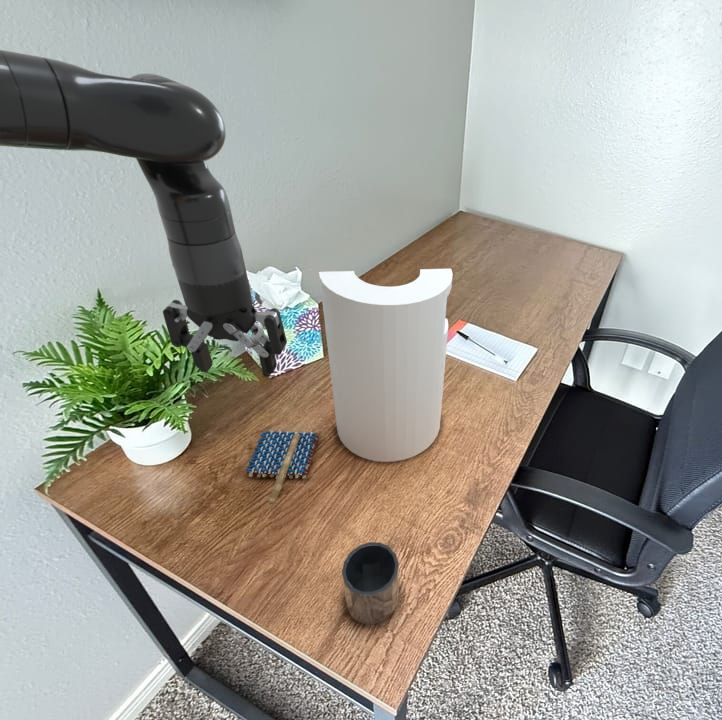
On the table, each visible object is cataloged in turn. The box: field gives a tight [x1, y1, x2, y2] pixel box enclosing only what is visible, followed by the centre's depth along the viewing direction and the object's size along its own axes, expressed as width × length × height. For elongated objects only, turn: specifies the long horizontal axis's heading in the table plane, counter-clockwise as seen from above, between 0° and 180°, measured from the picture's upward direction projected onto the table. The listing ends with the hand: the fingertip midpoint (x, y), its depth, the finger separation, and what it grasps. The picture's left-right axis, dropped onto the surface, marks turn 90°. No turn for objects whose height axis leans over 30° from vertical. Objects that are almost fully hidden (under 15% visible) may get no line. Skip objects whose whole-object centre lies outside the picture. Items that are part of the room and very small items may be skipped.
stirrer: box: [267, 432, 300, 505], centre depth 82 cm, size 9×1×13 cm
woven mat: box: [245, 430, 319, 480], centre depth 86 cm, size 10×11×2 cm
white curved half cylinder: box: [318, 268, 454, 463], centre depth 82 cm, size 35×11×21 cm
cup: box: [341, 541, 400, 626], centre depth 66 cm, size 7×7×9 cm
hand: (238, 370), depth 66 cm, fingers open, 8 cm apart
